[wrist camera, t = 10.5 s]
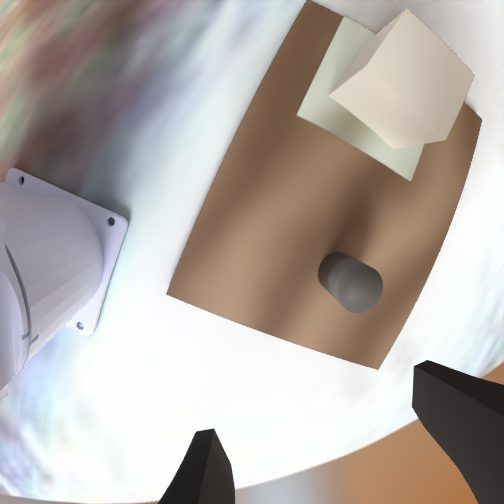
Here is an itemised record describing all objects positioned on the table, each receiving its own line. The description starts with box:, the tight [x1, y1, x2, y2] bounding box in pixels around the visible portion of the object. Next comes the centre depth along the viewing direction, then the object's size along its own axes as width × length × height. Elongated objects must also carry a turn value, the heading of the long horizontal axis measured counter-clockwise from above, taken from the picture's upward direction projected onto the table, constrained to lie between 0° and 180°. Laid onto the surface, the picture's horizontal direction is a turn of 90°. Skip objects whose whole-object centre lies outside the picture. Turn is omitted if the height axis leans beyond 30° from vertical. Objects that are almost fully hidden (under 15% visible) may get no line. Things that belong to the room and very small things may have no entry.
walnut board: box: [166, 0, 482, 370], centre depth 16 cm, size 15×20×4 cm
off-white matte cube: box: [329, 8, 475, 149], centre depth 14 cm, size 5×5×5 cm
